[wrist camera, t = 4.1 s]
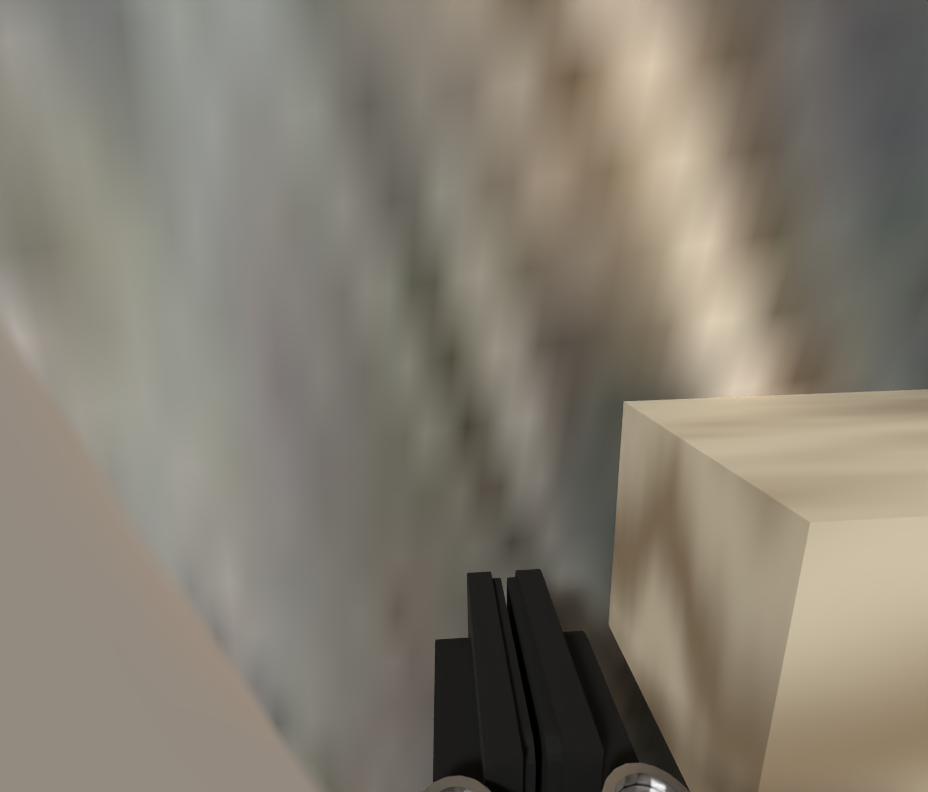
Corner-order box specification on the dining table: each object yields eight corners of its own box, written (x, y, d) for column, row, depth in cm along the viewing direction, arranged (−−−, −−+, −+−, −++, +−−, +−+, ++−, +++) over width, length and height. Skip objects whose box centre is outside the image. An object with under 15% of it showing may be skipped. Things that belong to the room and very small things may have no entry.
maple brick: (621, 400, 13) (810, 522, 6) (996, 385, 14) (1536, 484, 7) (606, 620, 15) (738, 890, 8) (933, 601, 16) (1305, 841, 9)
